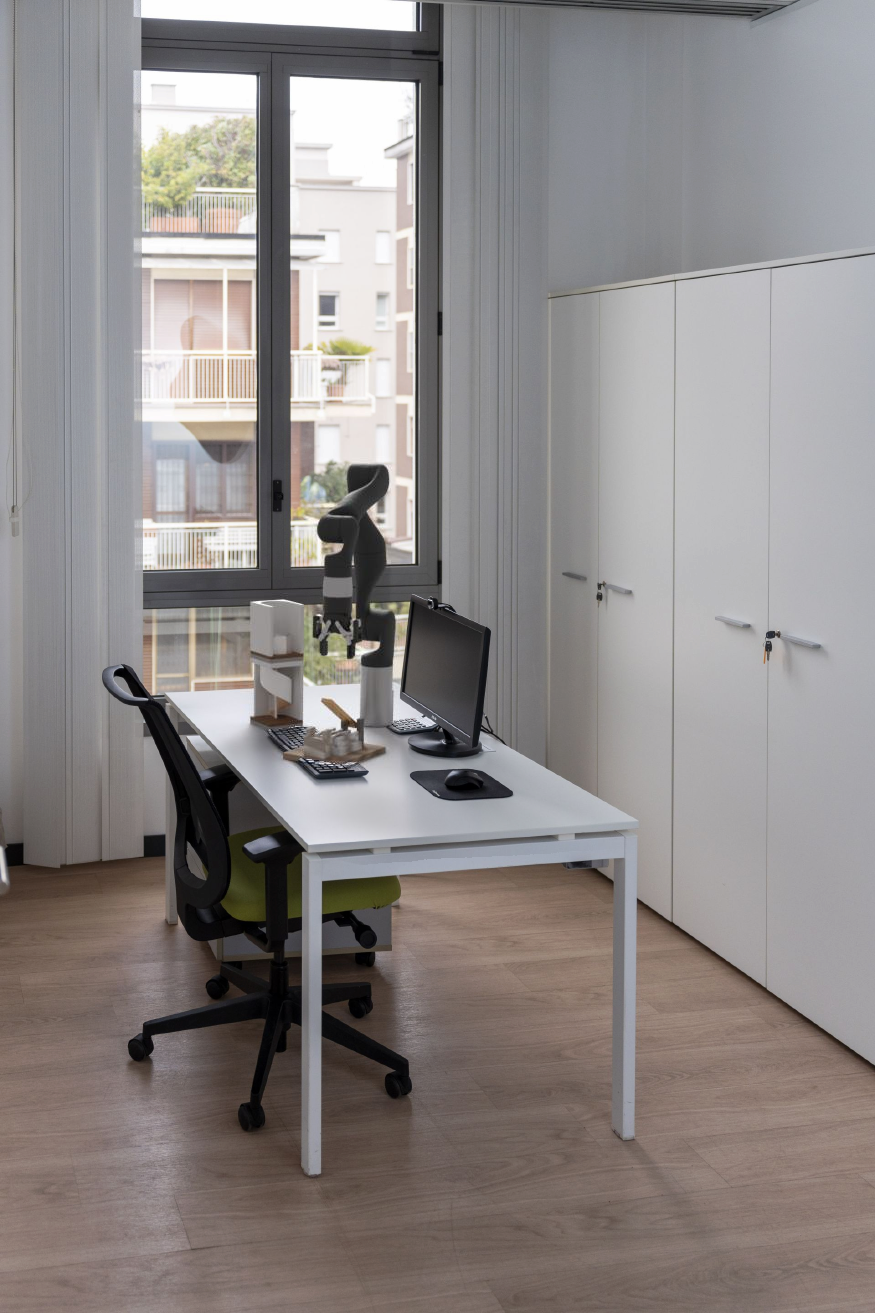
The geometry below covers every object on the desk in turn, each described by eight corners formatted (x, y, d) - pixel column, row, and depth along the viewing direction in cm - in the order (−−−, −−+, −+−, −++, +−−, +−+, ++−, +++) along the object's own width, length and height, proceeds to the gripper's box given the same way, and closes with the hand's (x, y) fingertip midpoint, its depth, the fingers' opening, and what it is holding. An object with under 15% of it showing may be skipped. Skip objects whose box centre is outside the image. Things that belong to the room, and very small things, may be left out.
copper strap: (348, 727, 351) (350, 722, 352) (357, 729, 350) (359, 723, 350) (320, 702, 339) (322, 696, 339) (330, 704, 337) (332, 698, 338)
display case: (250, 723, 378) (250, 601, 372) (282, 719, 384) (283, 599, 378) (269, 731, 369) (270, 606, 363) (302, 727, 375) (303, 604, 369)
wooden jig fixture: (329, 742, 358) (329, 711, 356) (385, 752, 349) (386, 720, 348) (282, 758, 340) (283, 725, 338) (341, 769, 331) (341, 735, 330)
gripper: (369, 594, 338) (368, 658, 341) (323, 590, 345) (322, 652, 348) (352, 598, 331) (351, 662, 334) (306, 593, 338) (305, 656, 341)
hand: (337, 657), depth 341 cm, fingers open, 7 cm apart
